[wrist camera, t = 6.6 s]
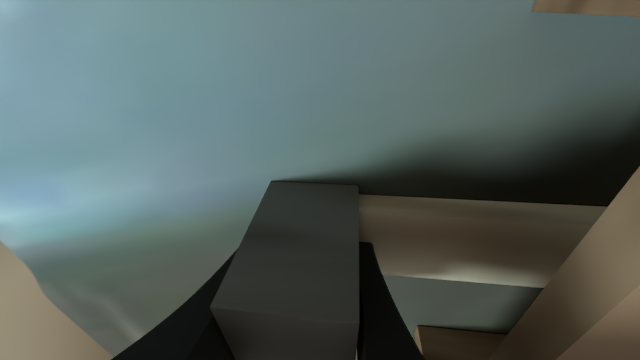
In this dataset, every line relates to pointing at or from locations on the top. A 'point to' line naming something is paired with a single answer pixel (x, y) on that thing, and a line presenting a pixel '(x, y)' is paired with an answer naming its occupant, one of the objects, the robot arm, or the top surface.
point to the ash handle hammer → (391, 252)
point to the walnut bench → (572, 278)
